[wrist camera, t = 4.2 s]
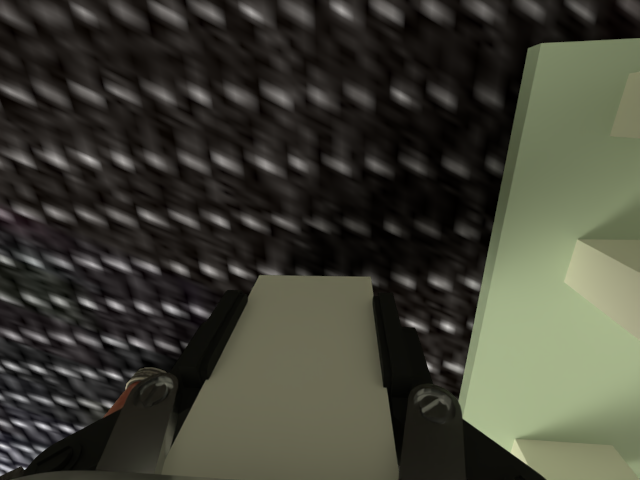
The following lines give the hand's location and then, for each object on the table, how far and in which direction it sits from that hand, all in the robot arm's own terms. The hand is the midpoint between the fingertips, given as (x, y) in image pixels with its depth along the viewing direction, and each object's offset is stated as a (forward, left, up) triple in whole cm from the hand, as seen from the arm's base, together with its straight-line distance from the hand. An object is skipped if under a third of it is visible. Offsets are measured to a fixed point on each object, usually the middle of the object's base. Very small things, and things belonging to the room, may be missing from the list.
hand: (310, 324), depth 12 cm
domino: (0, 0, -2) cm, 2 cm away
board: (+4, +13, -3) cm, 14 cm away
